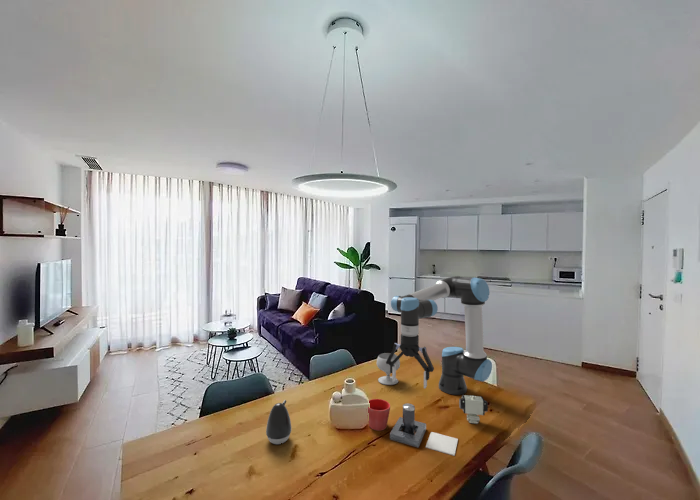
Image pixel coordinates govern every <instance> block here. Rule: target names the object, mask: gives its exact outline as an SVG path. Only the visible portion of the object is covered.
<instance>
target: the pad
mask: <svg viewBox="0 0 700 500" xmlns="http://www.w3.org/2000/svg"><path fill="white" fill-rule="evenodd" d="M427 439H428V440H427V441H426V445H425V448H426V449H429V450H433V451H436V452H440V453H443V454H446V455H450V456H454V457H455V455H456V452H457V451H456V450H457V445H458V441H459V439H458V438H457V437H453V436H448V435H446V434H445V435H444V434H441V433H439V432H433V431H431V432H430V434H429V437H428V438H427Z"/></svg>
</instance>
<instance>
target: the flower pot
mask: <svg viewBox="0 0 700 500" xmlns="http://www.w3.org/2000/svg"><path fill="white" fill-rule="evenodd" d="M368 401H369V403H370V408H369V407H368V413H369V421H368V426H369V428H370V429H372V430H374V431H377V432H378V431H379V432H381V431H384V430H385V429H386V428H387V426H388V421H389V417H390V411H391V403H389V402H388V401H387V400H384V399H382V398H372V399H369V400H368Z"/></svg>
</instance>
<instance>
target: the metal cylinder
mask: <svg viewBox="0 0 700 500" xmlns="http://www.w3.org/2000/svg"><path fill="white" fill-rule="evenodd" d="M415 411H416V408H415V405H414V404H412V403H408V402H407V403H404V404H402V418H403V429H402V432H405V433H409V434H412V435H415V431H414V430H415V421H416V420H415V418H416V415H415V414H416V413H415Z"/></svg>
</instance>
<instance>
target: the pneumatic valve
mask: <svg viewBox="0 0 700 500" xmlns="http://www.w3.org/2000/svg"><path fill="white" fill-rule="evenodd" d="M458 404H459V405H458V406H459V409H460V410H462V411H463V412H462V413H463V414H466V421H468V424H469V423H470V424H475V425H478V424H479V422H480V421H481V420H480V418H481V417H480V416H485V414H486V413H487V412H488V411H489V404H488V401H487V400H485V399H484V398H483V396H478V395H477V396H476V395H471V394H470V395H466V394H465V395H464V394H461V398H459V402H458Z"/></svg>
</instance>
